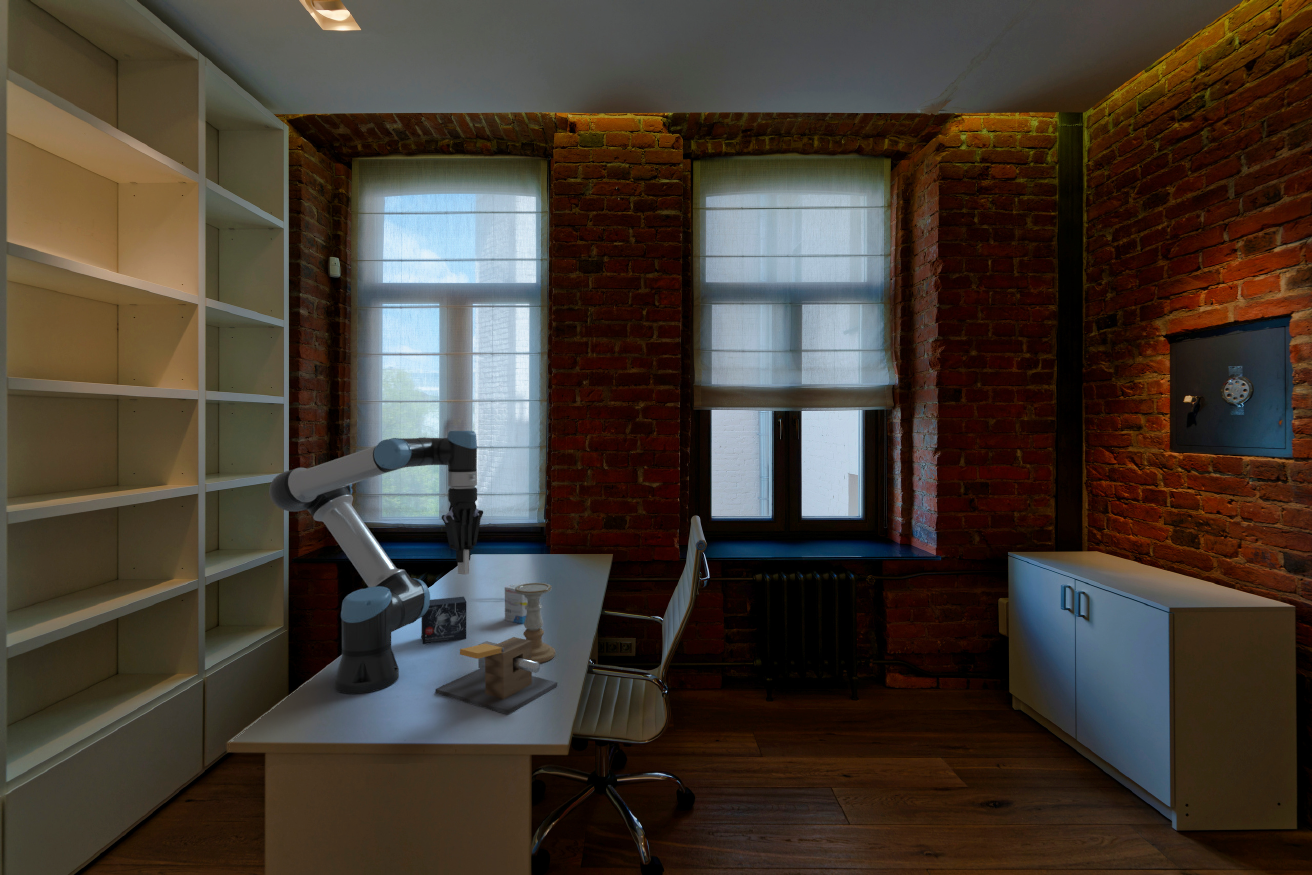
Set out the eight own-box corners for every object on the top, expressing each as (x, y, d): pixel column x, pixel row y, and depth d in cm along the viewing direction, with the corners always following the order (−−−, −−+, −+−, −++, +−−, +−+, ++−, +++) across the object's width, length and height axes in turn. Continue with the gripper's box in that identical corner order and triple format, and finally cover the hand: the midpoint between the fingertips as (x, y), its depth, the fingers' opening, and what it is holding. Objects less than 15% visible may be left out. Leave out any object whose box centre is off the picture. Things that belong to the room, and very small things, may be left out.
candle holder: (510, 665, 170) (509, 593, 170) (513, 650, 182) (513, 582, 182) (555, 662, 172) (554, 591, 171) (555, 647, 184) (555, 580, 184)
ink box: (539, 617, 213) (539, 584, 213) (522, 624, 206) (521, 589, 206) (521, 613, 218) (521, 581, 218) (504, 620, 211) (503, 586, 210)
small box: (422, 645, 187) (421, 606, 186) (420, 638, 193) (420, 600, 193) (467, 638, 192) (466, 600, 192) (464, 632, 198) (464, 595, 198)
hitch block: (435, 692, 152) (435, 644, 152) (488, 668, 168) (488, 624, 168) (507, 714, 140) (507, 662, 140) (557, 686, 156) (557, 639, 156)
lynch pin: (475, 669, 154) (475, 645, 154) (489, 662, 159) (489, 639, 159) (529, 683, 146) (529, 658, 146) (543, 676, 150) (543, 651, 150)
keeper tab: (459, 654, 142) (460, 648, 142) (486, 648, 150) (487, 642, 150) (477, 658, 139) (477, 653, 139) (504, 652, 147) (504, 646, 147)
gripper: (453, 489, 159) (454, 580, 159) (490, 485, 170) (491, 570, 170) (433, 488, 163) (434, 576, 163) (471, 484, 174) (471, 567, 174)
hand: (463, 573), depth 167 cm, fingers closed
